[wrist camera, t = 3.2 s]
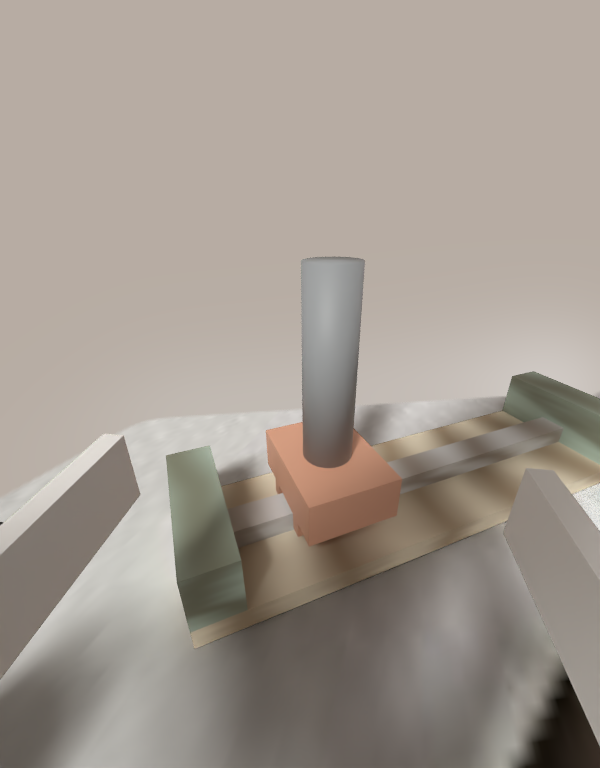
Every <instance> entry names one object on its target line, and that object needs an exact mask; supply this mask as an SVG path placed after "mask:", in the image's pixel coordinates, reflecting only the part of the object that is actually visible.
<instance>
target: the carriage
mask: <svg viewBox="0 0 600 768" xmlns="http://www.w3.org/2000/svg"><path fill="white" fill-rule="evenodd" d="M364 265H365V260H363V259H359V258H351V257H315V258H307V259H303V260H302V261H301V292H302V293H301V294H302V296H301V297H302V298H301V299H302V395H303V397H302V401H303V403H302V405H303V422H301V423H296V424H292V425H287V426H283V427H279V428H274V429H270V430H266V438H267V453H268V464H269V466H270V468H271V470H272V472H273V474H274V476H275V479H276V491H277V494H281V493H283V495H284V497H285V499H286V501H287V503H288V505H289V507H290V509H291V511H292V513H293V528H294V530H295V532H296V534H297V536H298V537H299V536H302V535H304V538H305V540H306V542H307V544H308V546H312V545H315V544H318V543H321V542H324V541H326V540H329V539H332V538H335V537H338V536H341V535H343V534H346V533H349V532H352V531H355V530H358V529H360V528H363V527H366V526H369V525H372V524H374V523H377V522H380V521H383V520H386V519H389V518H391V517H394V516H397V510H398V504H399V497H400V491H401V484H402V478H401V477H400V476H399V475H398V474H397V473H396V472H395V471H394V470H393V469H392V468H391V467H390V466H389V464H388V463H387V462H386V461H385V460H384V459H383V458H382V457H381V456H380V455H379V454H378V453H377V452H376V451H375V450H374V449H373V448H372V447H371V446H370V445H369V444H368V443H367V442H366V441H365V440H364V438H363V437H362V436H361V435H360V434H359V433H358V432H357V431H356V430H355V429H354V428H353V427H354V413H355V398H356V383H357V368H358V354H359V353H358V352H359V339H360V323H361V310H362V295H363V280H364Z"/></svg>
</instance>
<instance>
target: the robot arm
mask: <svg viewBox="0 0 600 768" xmlns="http://www.w3.org/2000/svg"><path fill="white" fill-rule="evenodd" d="M139 496H140V492H139V488H138V485H137V481H136V478H135V474H134V471H133V467H132V464H131V460H130V457H129V453H128V450H127V446H126V443H125V439H124V435H112V434H103V435H102V436H101V437H99V438H98V439H97V440H96V441H95V442H94V443H93V444H92V445H90V446H89V447H88V448H87V449H86V450H85V451H84V452H83V453H81V454H80V455H79V456H78V457H77V458H76V459H75V460H74V461H72V462H71V463H70V464H69V465H68V466H67V467H66V468H65V469H63V470H62V471H61V472H60V473H59V474H58V475H57V476H56V477H54V478H53V479H52V480H51V481H50V482H49V483H48V484H47V485H45V486H44V487H43V488H42V489H41V490H40V491H39V492H38V493H36V494H35V495H34V496H33V497H32V498H31V499H30V500H29V501H27V502H26V503H25V504H24V505H23V506H22V507H21V508H20V509H18V510H17V511H16V512H15V513H14V514H13V515H12V516H11V517H9V518H8V519H7V520H6V521H5V522H4V523H3V522H0V679H1V678H2V677H3V675H4V674H5V673H6V671H7V670H8V669H9V667H10V666H11V665H12V664H13V662H14V661H15V660H16V658H17V657H18V656H19V654H20V653H21V652H22V650H23V649H24V648H25V646H26V645H27V644H28V642H29V641H30V640H31V638H32V637H33V636H34V634H35V633H36V632H37V631H38V629H39V628H40V627H41V625H42V624H43V623H44V621H45V620H46V619H47V617H48V616H49V615H50V613H51V612H52V611H53V609H54V608H55V607H56V605H57V604H58V603H59V601H60V600H61V599H62V597H63V596H64V595H65V594H66V592H67V591H68V590H69V588H70V587H71V586H72V584H73V583H74V582H75V580H76V579H77V578H78V576H79V575H80V574H81V572H82V571H83V570H84V568H85V567H86V566H87V564H88V563H89V562H90V561H91V559H92V558H93V557H94V555H95V554H96V553H97V551H98V550H99V549H100V547H101V546H102V545H103V543H104V542H105V541H106V539H107V538H108V537H109V535H110V534H111V533H112V531H113V530H114V529H115V528H116V526H117V525H118V524H119V522H120V521H121V520H122V518H123V517H124V516H125V514H126V513H127V512H128V510H129V509H130V508H131V506H132V505H133V504H134V502H135V501H136V500H137V498H138V497H139ZM503 533H504V535H505V538H506V540H507V542H508V544H509V547H510V549H511V551H512V553H513V555H514V558H515V560H516V562H517V564H518V566H519V569H520V571H521V573H522V575H523V577H524V580H525V582H526V584H527V586H528V589H529V591H530V593H531V595H532V597H533V600H534V602H535V604H536V606H537V608H538V611H539V613H540V615H541V617H542V620H543V622H544V624H545V626H546V628H547V631H548V633H549V635H550V637H551V639H552V642H553V644H554V646H555V648H556V650H557V653H558V655H559V657H560V659H561V662H562V664H563V666H564V668H565V670H566V673H567V675H568V677H569V679H570V681H571V684H572V686H573V688H574V690H575V693H576V695H577V697H578V699H579V701H580V704H581V706H582V708H583V710H584V712H585V715H586V717H587V719H588V721H589V723H590V726H591V728H592V730H593V732H594V735H595V737H596V739H597V741H598V743H599V746H600V531H599V530H598V528H597V527H596V526H595V524H594V523H593V522H592V520H591V519H590V518H589V516H588V515H587V514H586V512H585V511H584V510H583V508H582V507H581V506H580V504H579V503H578V502H577V500H576V499H575V498H574V496H573V495H572V494H571V492H570V491H569V490H568V489H567V487H566V486H565V485H564V483H563V482H562V481H561V479H560V478H559V477H558V475H557V474H556V473H555V471H554V470H545V469H533V468H526V469H525V472H524V475H523V478H522V481H521V484H520V486H519V489H518V492H517V495H516V498H515V501H514V503H513V506H512V509H511V512H510V515H509V518H508V520H507V523H506V526H505V529H504V532H503Z"/></svg>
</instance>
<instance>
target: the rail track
mask: <svg viewBox="0 0 600 768" xmlns="http://www.w3.org/2000/svg"><path fill="white" fill-rule="evenodd" d="M371 447H372V448H373V449H374V450H375V451H376V452H377V453H378V454H379V455H380V456H381V457H382V458H383V459H384V460H385V461H386V462H387V463H388V464H389V466H390V467H391V468H392V469H393V470H394V471H395V472H396V473H397V474H398V475H399V476H400V477H401V478H402V484H401V491H400V497H399V504H398V510H397V516H394V517H391V518H389V519H386V520H383V521H380V522H377V523H374V524H372V525H369V526H366V527H363V528H360V529H358V530H355V531H352V532H349V533H346V534H343V535H341V536H338V537H335V538H332V539H329V540H326V541H324V542H321V543H318V544H315V545H312V546H308V544H307V542H306V540H305V538H304V535H302V536H299V537H298V536H297V534H296V532H295V530H294V528H293V513H292V511H291V509H290V507H289V505H288V503H287V501H286V499H285V497H284V495H283V493H281V494H277V491H276V479H275V476H274V474H273V472H272V473H269V474H265V475H261V476H257V477H254V478H250V479H246V480H243V481H239V482H235V483H231V484H228V485H224V486H221V485H220V481H219V478H218V474H217V470H216V467H215V463H214V459H213V456H212V452H211V449H210V446H205V447H201V448H197V449H192V450H188V451H184V452H179V453H175V454H170V455H166V461H167V473H168V484H169V496H170V507H171V519H172V531H173V542H174V554H175V566H176V577H177V585H178V588H179V592H180V596H181V600H182V604H183V607H184V611H185V615H186V619H187V623H188V626H189V630H190V634H191V638H192V642H193V645H194V649H196V648H198V647H201V646H203V645H206V644H208V643H211V642H213V641H215V640H218V639H220V638H223V637H225V636H228V635H230V634H232V633H235V632H237V631H240V630H242V629H245V628H247V627H250V626H252V625H254V624H257V623H259V622H262V621H264V620H267V619H269V618H271V617H274V616H276V615H279V614H281V613H284V612H286V611H289V610H291V609H293V608H296V607H298V606H301V605H303V604H306V603H308V602H310V601H313V600H315V599H318V598H320V597H323V596H325V595H328V594H330V593H332V592H335V591H337V590H340V589H342V588H345V587H347V586H350V585H352V584H354V583H357V582H359V581H362V580H364V579H367V578H369V577H371V576H374V575H376V574H379V573H381V572H384V571H386V570H389V569H391V568H393V567H396V566H398V565H401V564H403V563H406V562H408V561H410V560H413V559H415V558H418V557H420V556H423V555H425V554H428V553H430V552H432V551H435V550H437V549H440V548H442V547H445V546H447V545H449V544H452V543H454V542H457V541H459V540H462V539H464V538H467V537H469V536H471V535H474V534H476V533H479V532H481V531H484V530H486V529H488V528H491V527H493V526H496V525H498V524H501V523H503V522H506V521H507V520H508V518H509V515H510V512H511V509H512V506H513V503H514V501H515V498H516V495H517V492H518V489H519V486H520V484H521V481H522V478H523V475H524V472H525V469H526V468H533V469H545V470H554V471H555V473H556V474H557V475H558V477H559V478H560V479H561V481H562V482H563V483H564V485H565V486H566V487H567V489H568V490H569V491H570V492H571V494H574V493H576V492H579V491H581V490H584V489H586V488H588V487H591V486H593V485H596V484H598V483H600V399H599V398H597V397H594V396H592V395H590V394H587V393H585V392H582V391H580V390H577V389H575V388H572V387H570V386H568V385H565V384H563V383H560V382H558V381H556V380H553V379H551V378H548V377H546V376H543V375H541V374H539V373H536V372H529V373H525V374H520V375H516V376H512V379H511V383H510V386H509V390H508V393H507V397H506V400H505V404H504V407H503V411H499V412H495V413H492V414H488V415H484V416H480V417H477V418H473V419H469V420H466V421H462V422H458V423H454V424H451V425H447V426H443V427H440V428H436V429H432V430H428V431H425V432H421V433H417V434H414V435H410V436H406V437H402V438H399V439H395V440H391V441H388V442H384V443H380V444H376V445H373V446H371Z"/></svg>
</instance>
